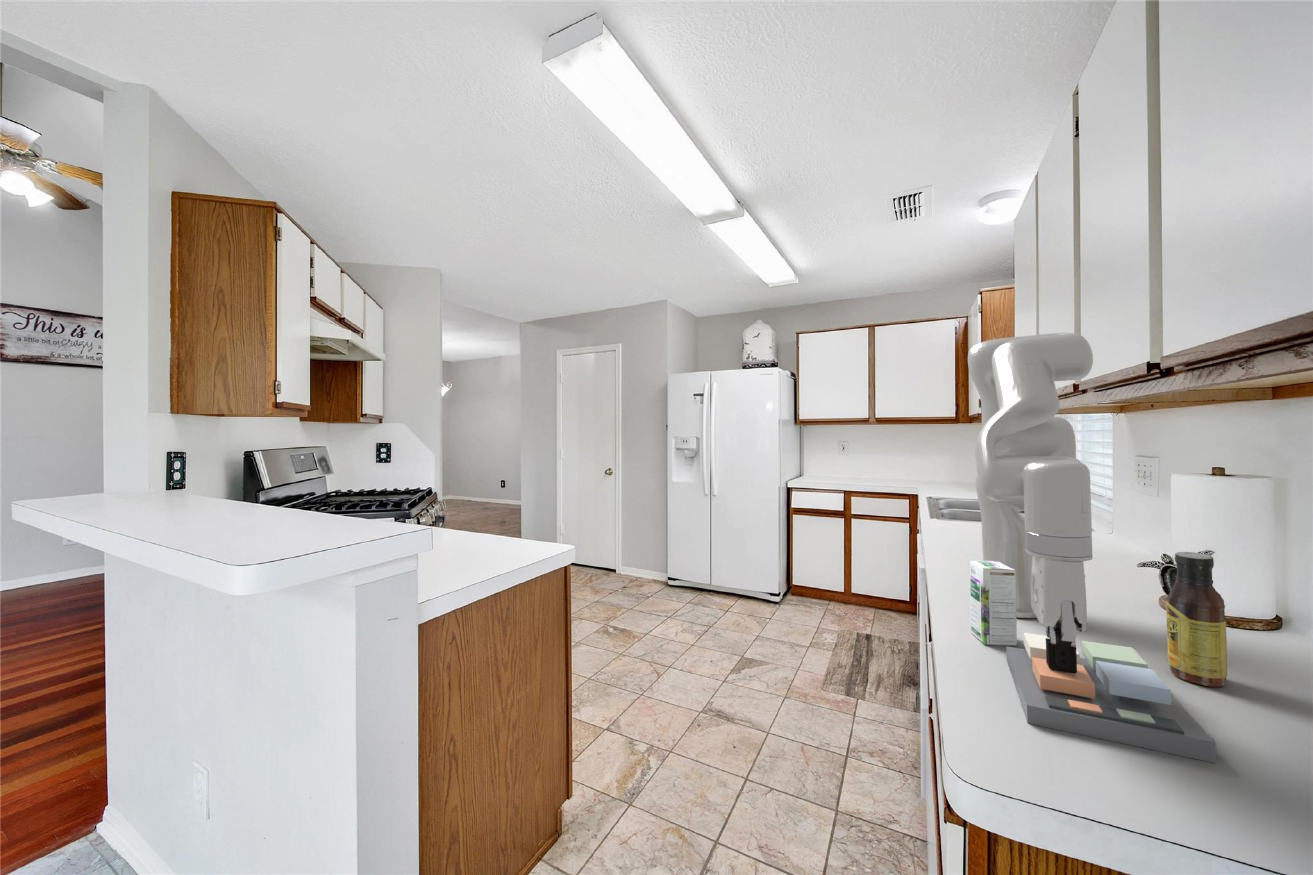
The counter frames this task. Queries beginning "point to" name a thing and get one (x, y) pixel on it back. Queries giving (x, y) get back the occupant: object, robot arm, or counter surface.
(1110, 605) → the counter surface
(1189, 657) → the sauce bottle
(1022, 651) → the keypad
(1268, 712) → the counter surface
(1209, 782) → the counter surface
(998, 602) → the syrup box
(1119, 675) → the blue key
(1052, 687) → the terracotta key
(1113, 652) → the sage key
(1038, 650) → the cream key
